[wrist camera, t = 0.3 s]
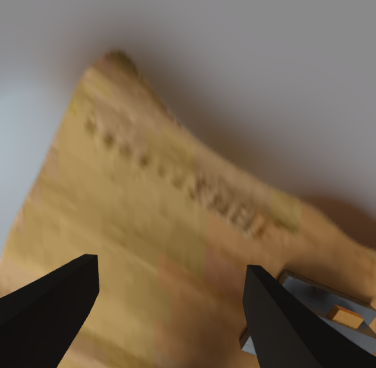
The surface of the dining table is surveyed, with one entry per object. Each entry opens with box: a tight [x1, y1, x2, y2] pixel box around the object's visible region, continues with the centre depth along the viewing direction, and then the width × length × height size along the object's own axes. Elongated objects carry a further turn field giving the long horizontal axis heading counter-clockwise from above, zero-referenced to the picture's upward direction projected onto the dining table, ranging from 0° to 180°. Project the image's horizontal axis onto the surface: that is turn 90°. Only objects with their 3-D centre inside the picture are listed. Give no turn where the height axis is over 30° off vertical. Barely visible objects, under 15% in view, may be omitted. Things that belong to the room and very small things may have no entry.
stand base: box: [239, 269, 376, 356], centre depth 21 cm, size 10×10×4 cm
